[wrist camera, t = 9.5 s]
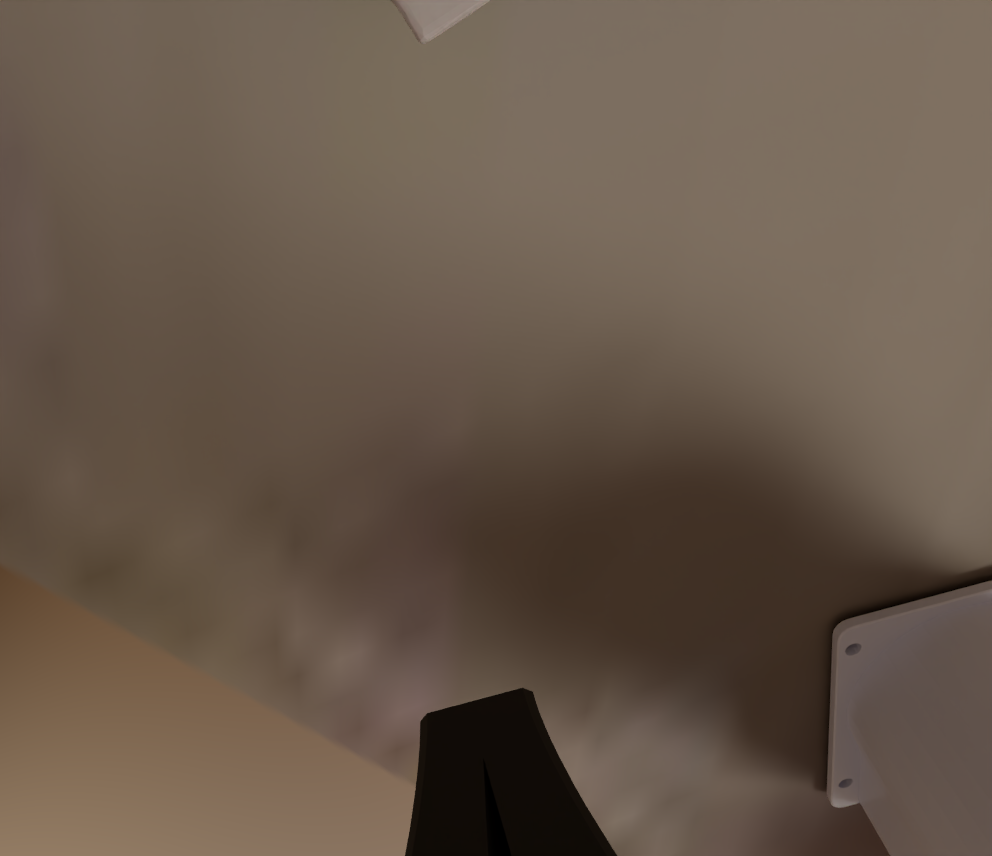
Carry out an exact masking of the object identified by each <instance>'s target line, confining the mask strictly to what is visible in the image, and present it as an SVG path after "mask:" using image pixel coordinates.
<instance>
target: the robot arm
mask: <svg viewBox="0 0 992 856" xmlns="http://www.w3.org/2000/svg"><path fill="white" fill-rule="evenodd" d="M827 798H828V799H829V801H830V803H831V805H832V806H834V807H837V808H842V807H846V806H850V805H854V804H857V803H860V804H861V806H862V807H863V809H864V811H865V813H866V814H867V816H868V818H869V820H870V821H871V823H872V825H873V827H874V828H875V830H876V832H877V834H878V835H879V837H880V839H881V841H882V842H883V844H884V846H885V848H886V849H887V851H888V853H889V855H890V856H992V580H991V581H987V582H983V583H980V584H976V585H972V586H968V587H965V588H961V589H957V590H954V591H950V592H946V593H942V594H939V595H935V596H931V597H927V598H924V599H920V600H916V601H912V602H909V603H905V604H901V605H898V606H894V607H890V608H886V609H883V610H879V611H875V612H871V613H868V614H864V615H860V616H856V617H853V618H849V619H846V620H844V621H842V622H840V623H839V624H838V625H837V626H836V627H835V629H834V631H833V636H832V663H831V690H830V717H829V745H828V772H827ZM405 856H617V855H616V853H615V852H614V850H613V849H612V847H611V845H610V844H609V842H608V841H607V839H606V837H605V836H604V834H603V832H602V831H601V829H600V828H599V826H598V824H597V823H596V821H595V820H594V818H593V816H592V815H591V813H590V812H589V810H588V808H587V807H586V805H585V803H584V802H583V800H582V798H581V796H580V795H579V793H578V791H577V789H576V788H575V786H574V784H573V782H572V780H571V778H570V776H569V775H568V773H567V771H566V769H565V767H564V765H563V763H562V761H561V759H560V758H559V756H558V754H557V752H556V749H555V747H554V745H553V743H552V741H551V739H550V737H549V735H548V732H547V730H546V728H545V725H544V723H543V720H542V718H541V715H540V713H539V710H538V707H537V704H536V701H535V698H534V695H533V692H532V691H529V690H527V689H524V688H520V689H516V690H513V691H509V692H505V693H501V694H498V695H494V696H490V697H487V698H483V699H479V700H475V701H472V702H468V703H464V704H460V705H457V706H453V707H449V708H445V709H442V710H438V711H434V712H430V713H427V714H426V716H425V717H424V718H423V719H422V720H421V722H420V750H419V763H418V773H417V782H416V791H415V798H414V805H413V812H412V819H411V827H410V832H409V838H408V843H407V849H406V854H405Z"/></svg>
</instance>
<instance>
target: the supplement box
mask: <svg viewBox="0 0 992 856" xmlns="http://www.w3.org/2000/svg"><path fill="white" fill-rule="evenodd" d="M391 1H392V2H393V3H394V4H395V6H396V7H397V8H398V10H399V11H400V13H401V14H402V16H403V17H404V19H405V21H406V22H407V24H408V25H409V27H410V29H411V30H412V32H413V33H414V35H415V37H416V38H417V40H418V41H419V42H420V43H422V44H424V43H428V42H429V41H431V40H432V39H434V38H435V37H437V36H438V35H440V34H441V33H443V32H444V31H446V30H447V29H449V28H450V27H452V26H454V25H455V24H457V23H458V22H460V21H461V20H463V19H464V18H466V17H467V16H468V15H470V14H471V13H473V12H474V11H476V10H477V9H479V8H480V7H481V6H483V5H484V4H486V3H487V2H489V1H490V0H391Z"/></svg>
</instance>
